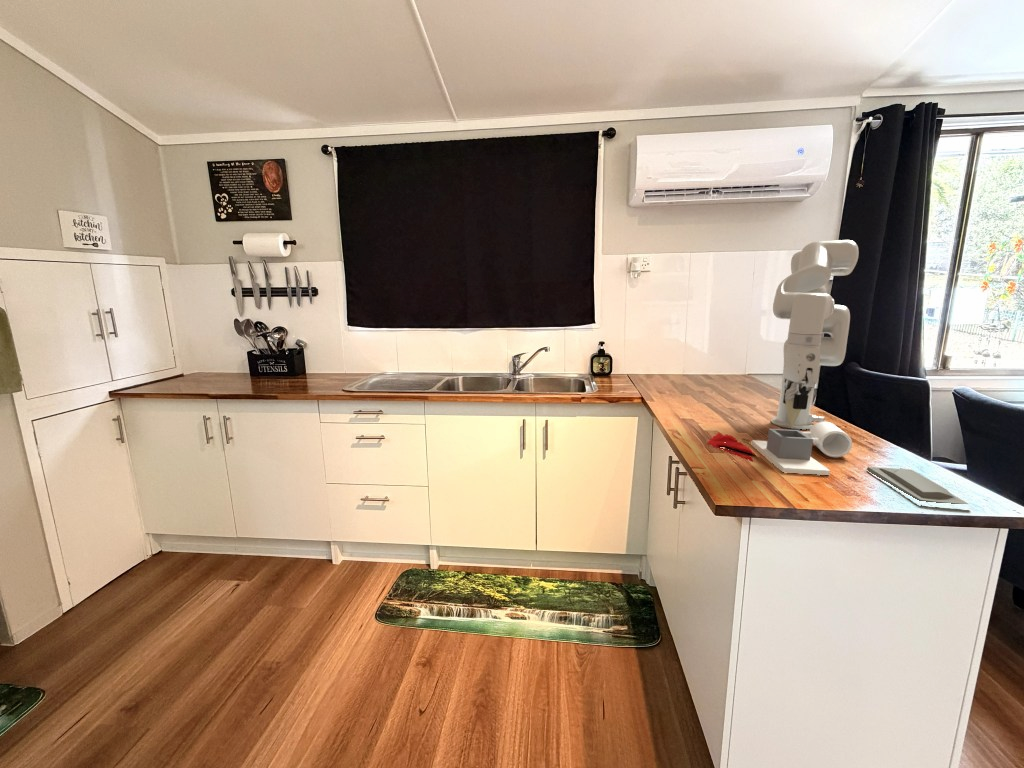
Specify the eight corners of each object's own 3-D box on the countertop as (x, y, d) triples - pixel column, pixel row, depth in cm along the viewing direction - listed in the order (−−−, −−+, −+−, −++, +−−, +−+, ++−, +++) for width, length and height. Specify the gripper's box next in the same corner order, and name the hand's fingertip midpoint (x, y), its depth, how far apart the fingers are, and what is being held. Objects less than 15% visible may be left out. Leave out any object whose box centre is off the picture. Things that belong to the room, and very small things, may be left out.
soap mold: (910, 476, 115) (912, 464, 114) (970, 513, 96) (974, 498, 95) (865, 473, 117) (867, 460, 116) (915, 508, 98) (919, 494, 97)
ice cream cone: (776, 425, 125) (783, 373, 122) (793, 424, 126) (800, 373, 123) (788, 430, 120) (796, 376, 117) (806, 430, 121) (814, 376, 118)
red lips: (701, 432, 150) (702, 426, 150) (746, 436, 146) (747, 430, 146) (711, 460, 126) (712, 452, 125) (765, 465, 122) (766, 458, 121)
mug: (836, 447, 135) (840, 422, 133) (850, 459, 126) (854, 432, 124) (791, 443, 138) (795, 418, 137) (801, 454, 129) (805, 428, 127)
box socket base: (789, 446, 135) (792, 423, 133) (829, 476, 114) (833, 448, 112) (751, 444, 136) (754, 421, 135) (783, 473, 115) (787, 445, 114)
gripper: (837, 344, 109) (825, 415, 113) (803, 337, 126) (794, 399, 130) (804, 343, 110) (794, 413, 114) (774, 337, 127) (766, 398, 131)
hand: (794, 405), depth 122 cm, fingers closed on ice cream cone, 5 cm apart
